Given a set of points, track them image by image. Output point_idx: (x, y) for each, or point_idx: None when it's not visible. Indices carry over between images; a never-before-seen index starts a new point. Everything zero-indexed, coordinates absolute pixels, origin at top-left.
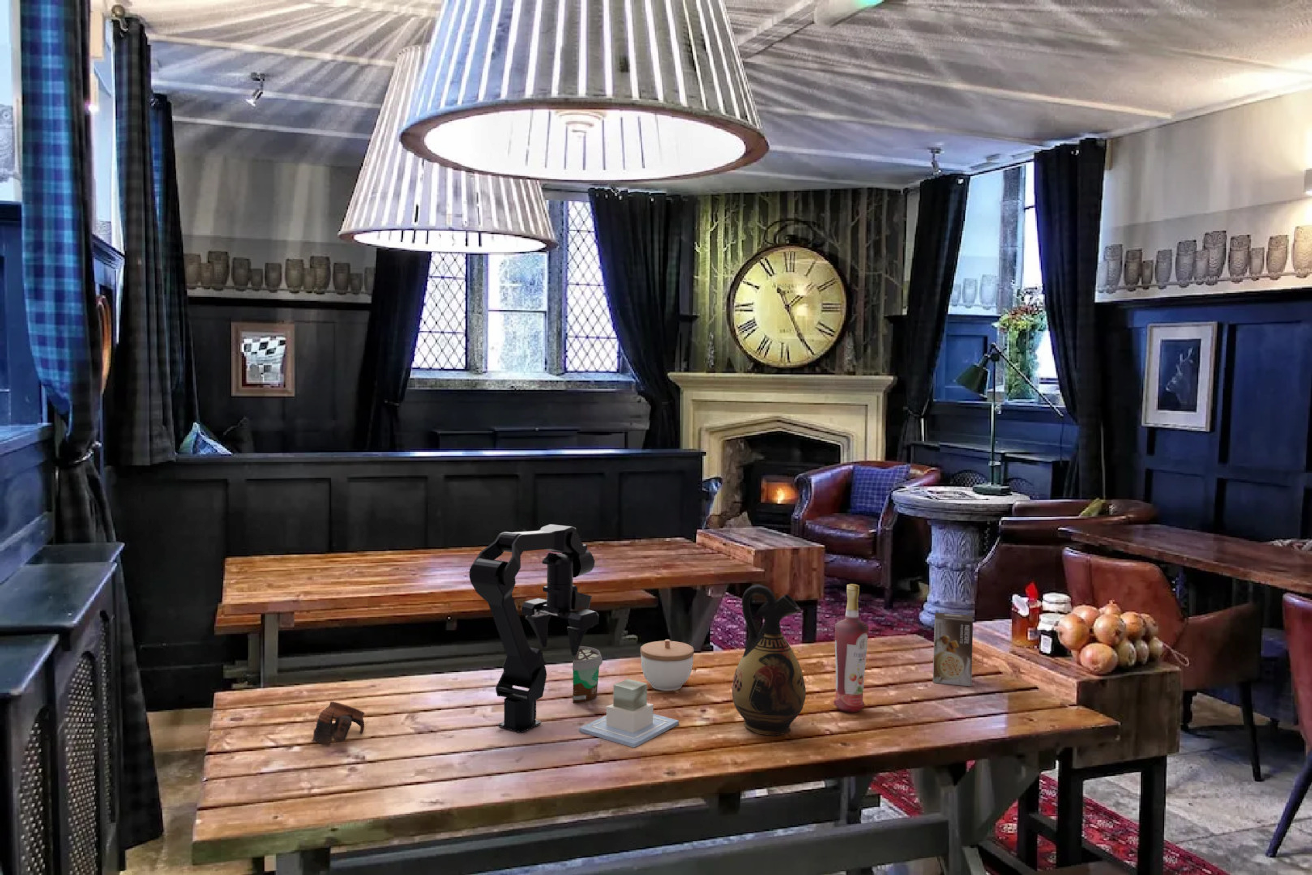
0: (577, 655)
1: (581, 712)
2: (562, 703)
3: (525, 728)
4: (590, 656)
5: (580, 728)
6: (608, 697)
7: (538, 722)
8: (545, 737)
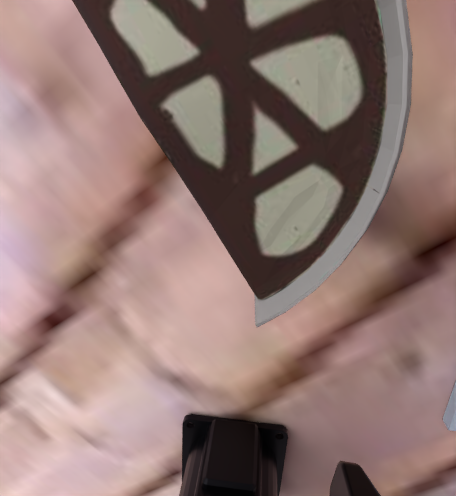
0: (151, 110)
1: (352, 269)
2: None
3: (278, 486)
4: (257, 6)
5: (453, 430)
6: None
7: (282, 439)
8: None
